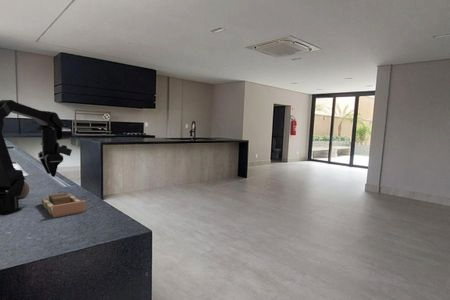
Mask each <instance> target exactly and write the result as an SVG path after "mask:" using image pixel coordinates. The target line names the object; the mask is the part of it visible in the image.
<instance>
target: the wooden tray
mask: <svg viewBox="0 0 450 300" xmlns="http://www.w3.org/2000/svg"><path fill="white" fill-rule="evenodd" d="M67 194H68V195H69V196H70V203H71V202H77V201H81V200H80V199H78V198H77V197H76V196H75V195H73V194H71V193H67ZM41 205H42V206H43V207H44V209H45V210H46V211H48V213H49V214H50V215H51V216H52V217H53V210H52V206H54V205H53V204H52V203H51V202H50V201H49V198H46V197H41Z"/></svg>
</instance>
